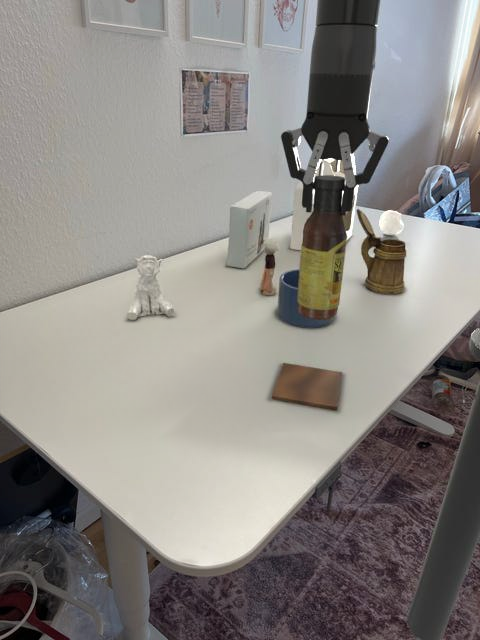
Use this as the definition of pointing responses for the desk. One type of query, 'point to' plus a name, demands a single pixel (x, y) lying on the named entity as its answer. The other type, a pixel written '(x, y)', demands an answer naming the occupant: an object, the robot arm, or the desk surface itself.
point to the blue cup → (294, 302)
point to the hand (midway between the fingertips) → (326, 212)
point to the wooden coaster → (308, 386)
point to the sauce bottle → (323, 251)
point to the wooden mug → (382, 260)
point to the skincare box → (248, 228)
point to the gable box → (300, 213)
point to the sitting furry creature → (148, 290)
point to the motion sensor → (391, 223)
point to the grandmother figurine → (269, 267)
